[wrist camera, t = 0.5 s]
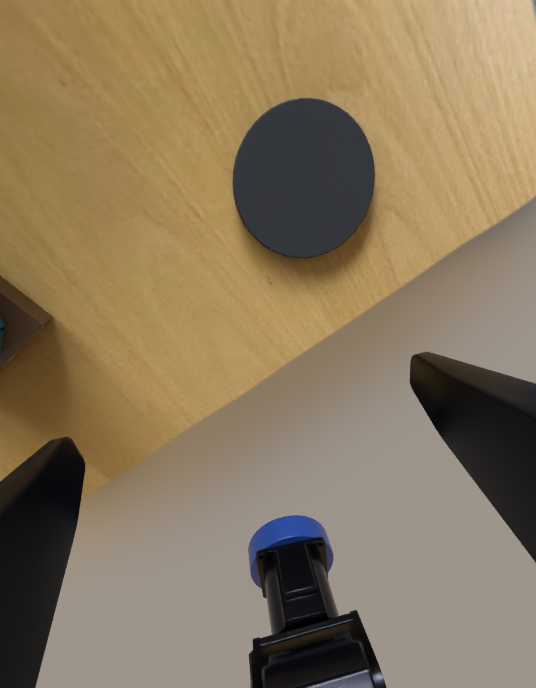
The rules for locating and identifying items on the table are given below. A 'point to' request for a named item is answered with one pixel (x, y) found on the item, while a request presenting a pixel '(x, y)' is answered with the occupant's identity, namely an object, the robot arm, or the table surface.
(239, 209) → the pad
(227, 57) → the table surface
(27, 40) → the table surface
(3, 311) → the stand
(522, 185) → the table surface
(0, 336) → the slatted teal pen holder
